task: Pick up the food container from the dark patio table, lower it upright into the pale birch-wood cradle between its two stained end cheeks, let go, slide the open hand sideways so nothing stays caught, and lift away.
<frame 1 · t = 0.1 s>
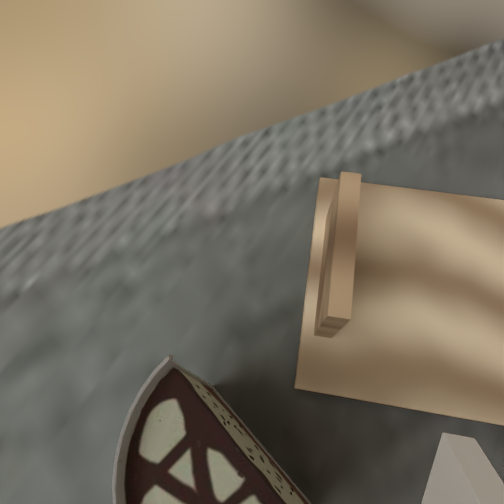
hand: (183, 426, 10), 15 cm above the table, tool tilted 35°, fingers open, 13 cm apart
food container: (224, 480, 23), on the table
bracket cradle: (439, 295, 27), on the table
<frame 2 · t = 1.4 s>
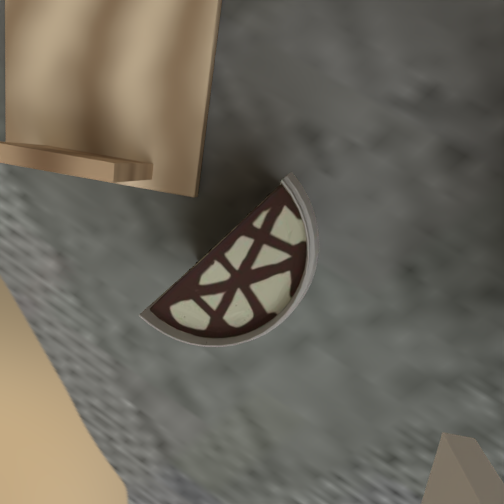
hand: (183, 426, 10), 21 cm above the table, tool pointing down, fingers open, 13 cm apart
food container: (264, 251, 30), on the table
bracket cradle: (111, 53, 28), on the table
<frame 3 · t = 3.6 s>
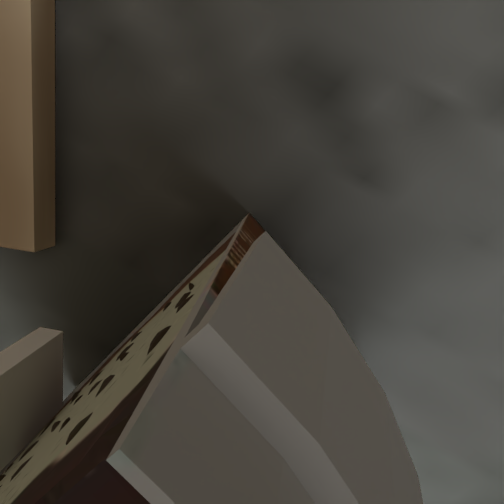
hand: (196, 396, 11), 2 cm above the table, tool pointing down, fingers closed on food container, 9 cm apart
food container: (219, 368, 13), on the table, touching gripper
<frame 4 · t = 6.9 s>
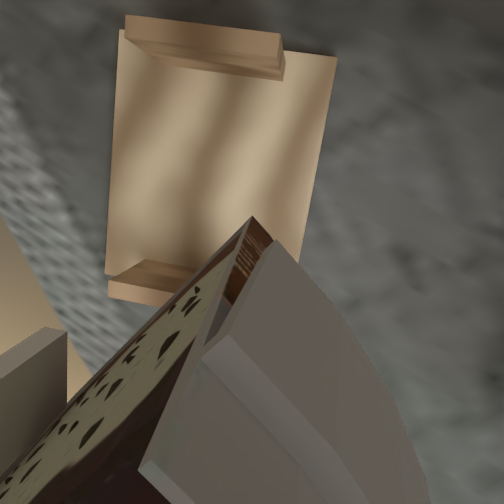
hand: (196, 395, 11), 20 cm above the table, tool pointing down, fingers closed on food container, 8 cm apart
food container: (222, 370, 13), point 18 cm above the table, touching gripper
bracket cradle: (211, 176, 30), on the table
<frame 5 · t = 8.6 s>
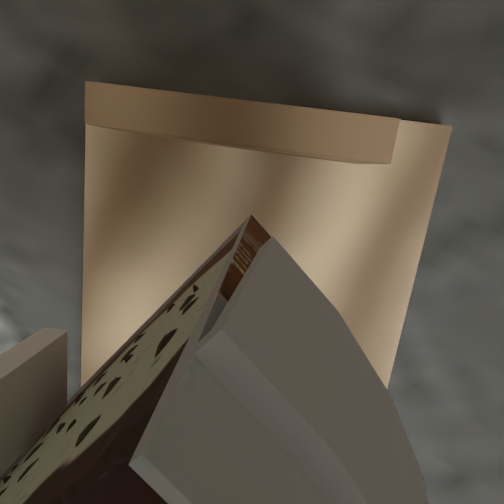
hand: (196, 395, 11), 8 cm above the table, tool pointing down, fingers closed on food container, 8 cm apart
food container: (222, 369, 13), point 7 cm above the table, touching gripper
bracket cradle: (238, 299, 19), on the table
when the fingers open (4 cm above the table, at t = 10.0 s): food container drops 1 cm, resting on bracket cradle.
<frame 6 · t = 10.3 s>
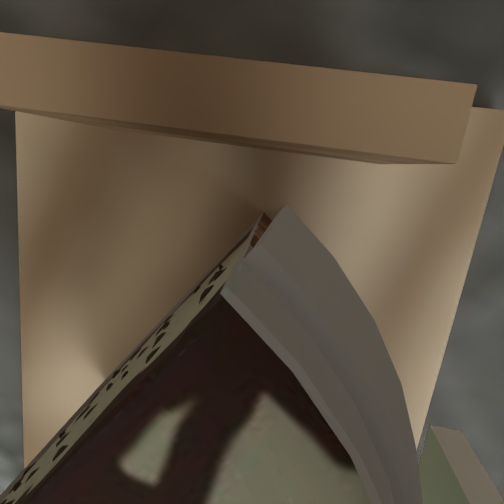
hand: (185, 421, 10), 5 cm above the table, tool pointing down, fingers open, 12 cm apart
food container: (239, 354, 14), point 1 cm above the table, touching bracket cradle
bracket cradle: (221, 338, 15), on the table
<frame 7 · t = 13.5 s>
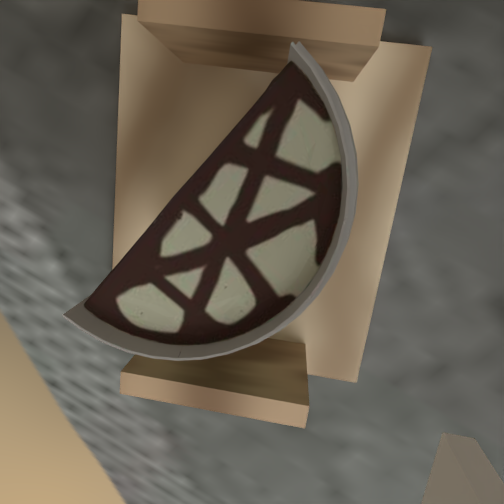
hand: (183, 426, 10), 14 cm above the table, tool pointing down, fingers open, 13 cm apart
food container: (263, 217, 21), point 1 cm above the table, touching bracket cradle
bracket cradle: (250, 211, 22), on the table
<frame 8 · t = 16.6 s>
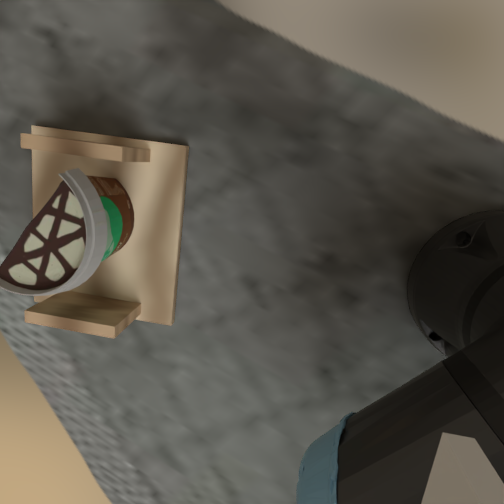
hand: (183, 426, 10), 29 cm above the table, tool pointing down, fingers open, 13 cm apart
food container: (112, 231, 39), point 1 cm above the table, touching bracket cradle
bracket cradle: (108, 228, 40), on the table
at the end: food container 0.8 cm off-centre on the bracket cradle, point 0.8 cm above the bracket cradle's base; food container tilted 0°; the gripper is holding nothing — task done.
